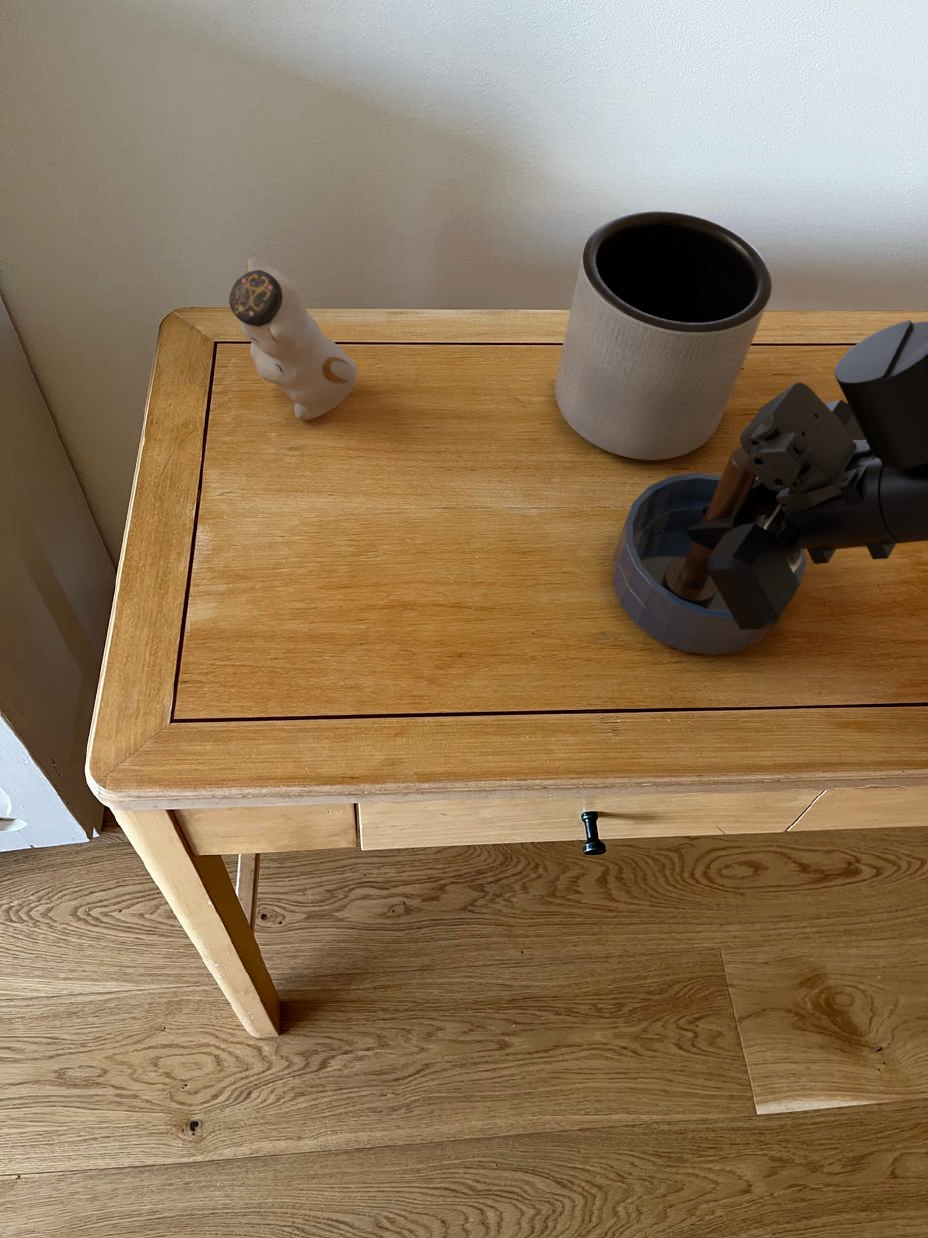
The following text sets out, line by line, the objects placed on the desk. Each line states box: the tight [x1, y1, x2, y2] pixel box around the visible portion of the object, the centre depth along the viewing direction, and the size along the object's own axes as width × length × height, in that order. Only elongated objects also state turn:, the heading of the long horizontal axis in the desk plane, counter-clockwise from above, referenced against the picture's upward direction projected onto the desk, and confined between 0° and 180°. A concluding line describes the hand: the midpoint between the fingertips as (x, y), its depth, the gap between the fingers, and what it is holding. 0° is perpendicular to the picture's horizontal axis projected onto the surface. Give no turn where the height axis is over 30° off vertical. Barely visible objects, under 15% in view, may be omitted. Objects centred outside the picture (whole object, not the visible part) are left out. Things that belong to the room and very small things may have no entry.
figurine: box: [228, 257, 358, 421], centre depth 80 cm, size 9×10×15 cm
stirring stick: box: [661, 446, 758, 608], centre depth 69 cm, size 4×4×16 cm
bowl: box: [611, 472, 807, 656], centre depth 75 cm, size 14×14×6 cm
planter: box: [554, 210, 773, 461], centre depth 82 cm, size 16×16×16 cm
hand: (697, 523), depth 70 cm, fingers closed on stirring stick, 2 cm apart
